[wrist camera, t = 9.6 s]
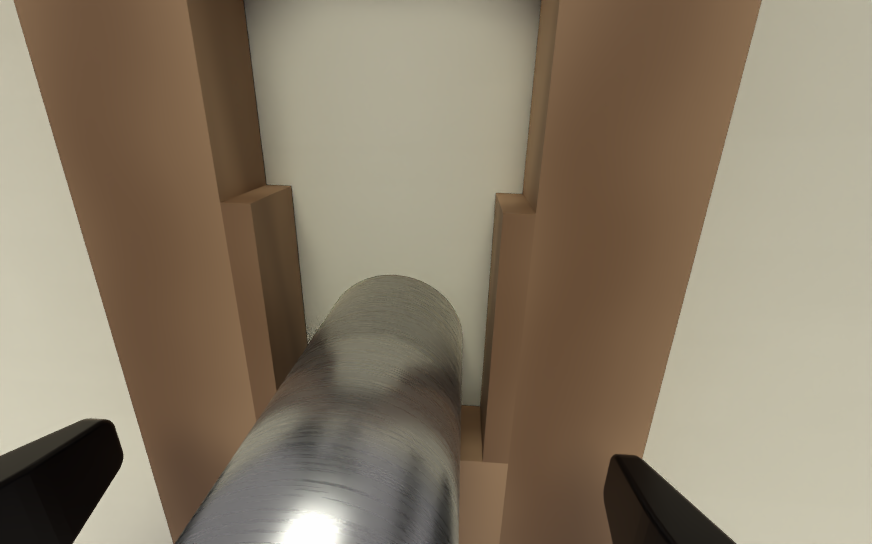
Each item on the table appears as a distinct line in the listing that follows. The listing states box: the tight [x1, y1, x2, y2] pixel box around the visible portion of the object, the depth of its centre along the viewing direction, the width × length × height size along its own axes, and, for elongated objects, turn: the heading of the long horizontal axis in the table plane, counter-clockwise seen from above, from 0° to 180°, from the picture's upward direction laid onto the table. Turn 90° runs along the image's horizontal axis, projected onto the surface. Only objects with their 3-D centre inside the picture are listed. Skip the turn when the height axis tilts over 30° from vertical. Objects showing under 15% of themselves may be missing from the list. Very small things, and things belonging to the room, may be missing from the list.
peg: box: [175, 275, 462, 544], centre depth 8 cm, size 4×4×8 cm
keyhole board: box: [14, 0, 762, 544], centre depth 9 cm, size 12×20×2 cm, turn 179°
